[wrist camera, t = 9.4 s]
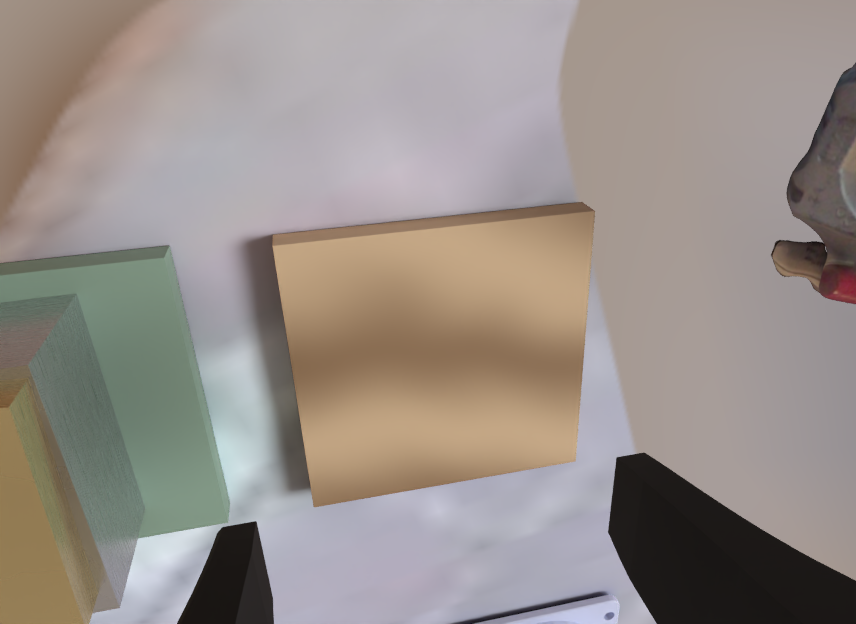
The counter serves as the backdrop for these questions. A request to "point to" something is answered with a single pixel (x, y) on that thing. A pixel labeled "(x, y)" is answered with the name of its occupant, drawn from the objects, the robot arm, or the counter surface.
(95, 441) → the base
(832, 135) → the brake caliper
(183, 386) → the stand
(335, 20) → the counter surface
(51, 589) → the cover
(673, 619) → the robot arm
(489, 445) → the stand
